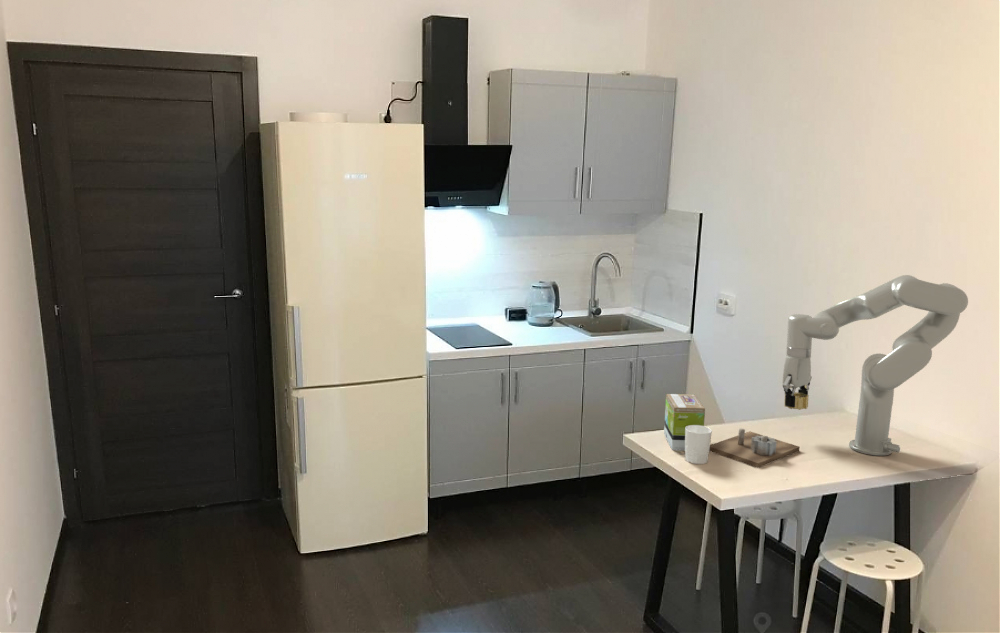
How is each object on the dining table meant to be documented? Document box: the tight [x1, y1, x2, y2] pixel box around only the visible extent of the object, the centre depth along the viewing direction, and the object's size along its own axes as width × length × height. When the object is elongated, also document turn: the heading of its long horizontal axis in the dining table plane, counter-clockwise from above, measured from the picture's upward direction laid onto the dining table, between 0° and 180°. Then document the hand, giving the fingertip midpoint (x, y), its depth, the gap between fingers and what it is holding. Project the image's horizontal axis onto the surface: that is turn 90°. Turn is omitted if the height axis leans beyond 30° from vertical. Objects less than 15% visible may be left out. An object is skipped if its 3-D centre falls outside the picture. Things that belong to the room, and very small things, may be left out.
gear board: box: [709, 428, 800, 469], centre depth 240 cm, size 18×24×6 cm
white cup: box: [684, 425, 713, 465], centre depth 231 cm, size 8×8×10 cm
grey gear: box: [751, 435, 777, 456], centre depth 236 cm, size 7×7×4 cm
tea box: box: [663, 393, 706, 452], centre depth 245 cm, size 15×10×15 cm, turn 178°
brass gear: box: [783, 391, 809, 411], centre depth 250 cm, size 7×7×4 cm
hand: (796, 403), depth 250 cm, fingers closed on brass gear, 7 cm apart
